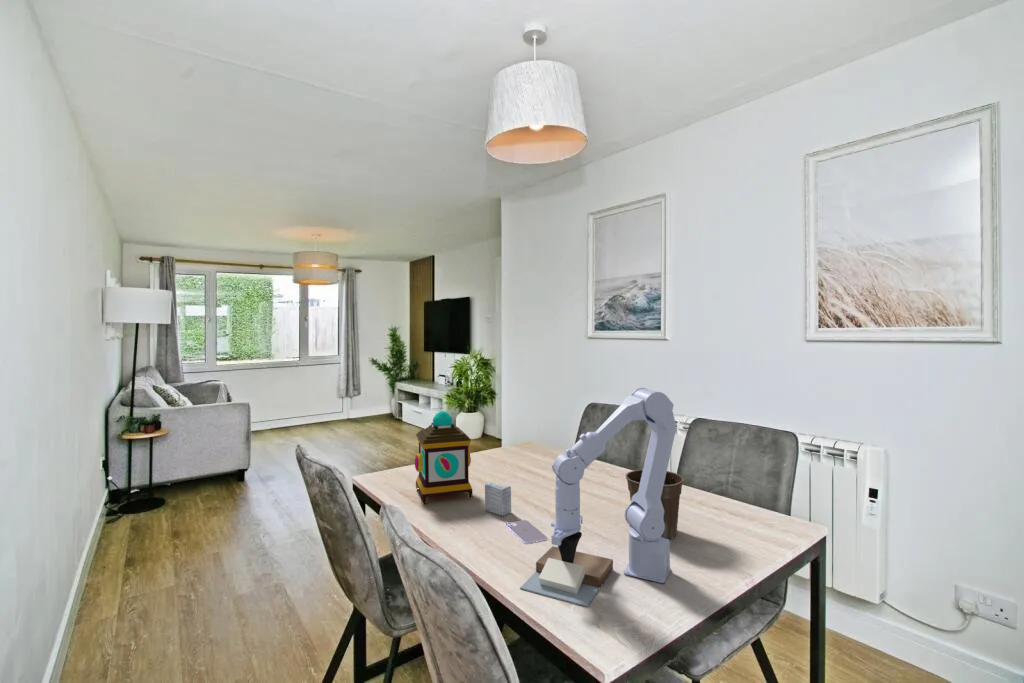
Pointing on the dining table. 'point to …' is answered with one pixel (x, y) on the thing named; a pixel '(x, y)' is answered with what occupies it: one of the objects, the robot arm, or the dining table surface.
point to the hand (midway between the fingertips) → (567, 563)
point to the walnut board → (594, 565)
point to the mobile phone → (525, 531)
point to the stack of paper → (498, 498)
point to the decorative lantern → (442, 458)
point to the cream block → (562, 575)
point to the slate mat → (561, 591)
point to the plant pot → (662, 498)
